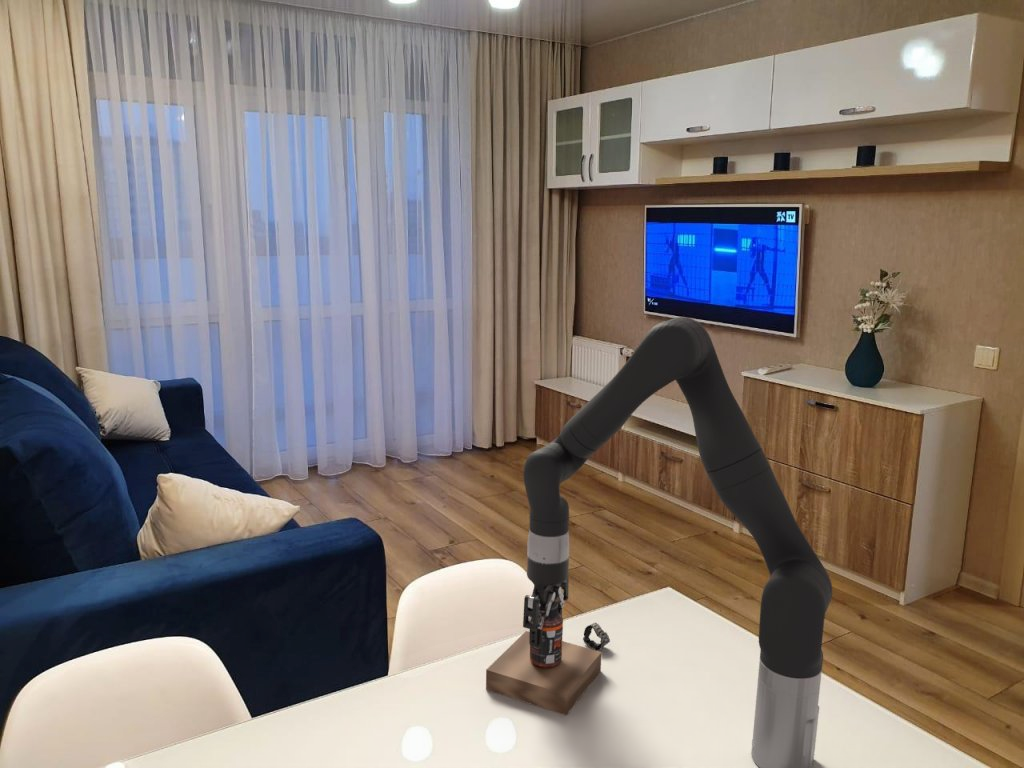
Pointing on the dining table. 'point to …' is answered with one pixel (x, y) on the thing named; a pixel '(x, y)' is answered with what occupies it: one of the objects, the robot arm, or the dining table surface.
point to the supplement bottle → (549, 640)
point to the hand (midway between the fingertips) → (545, 635)
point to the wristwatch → (599, 633)
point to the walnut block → (544, 675)
